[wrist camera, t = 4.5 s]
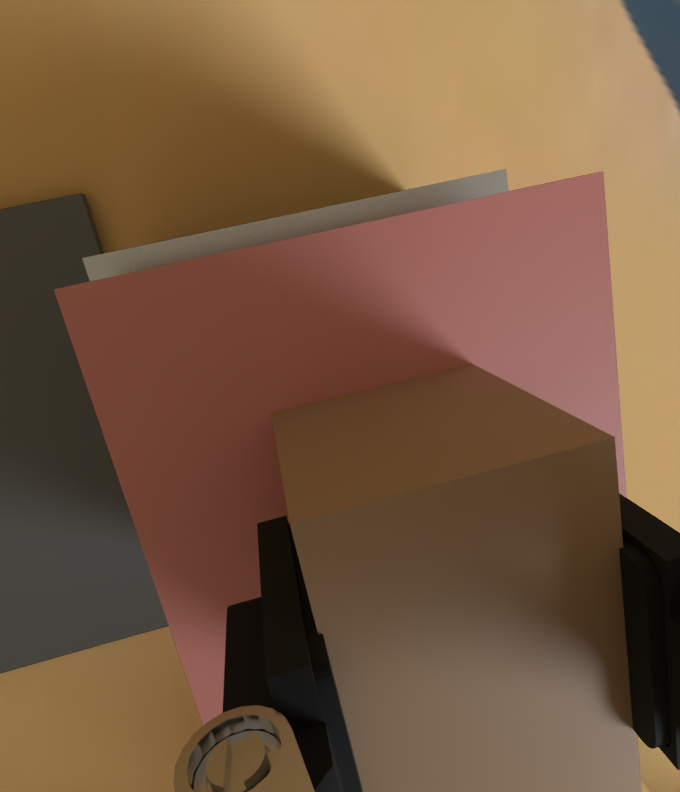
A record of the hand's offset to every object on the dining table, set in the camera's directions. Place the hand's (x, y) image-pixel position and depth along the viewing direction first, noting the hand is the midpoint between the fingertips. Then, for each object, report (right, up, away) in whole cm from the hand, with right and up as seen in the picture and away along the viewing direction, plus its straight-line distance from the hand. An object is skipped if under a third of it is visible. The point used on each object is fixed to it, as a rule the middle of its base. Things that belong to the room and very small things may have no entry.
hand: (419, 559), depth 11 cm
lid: (0, +1, +2) cm, 2 cm away
